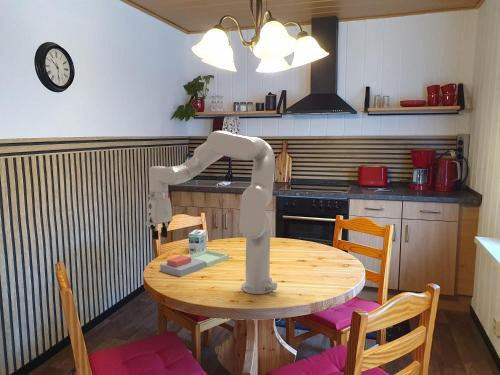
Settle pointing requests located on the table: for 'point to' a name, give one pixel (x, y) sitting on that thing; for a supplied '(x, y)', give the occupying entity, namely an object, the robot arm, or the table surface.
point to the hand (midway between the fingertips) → (159, 237)
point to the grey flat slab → (184, 268)
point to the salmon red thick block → (179, 261)
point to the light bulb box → (197, 241)
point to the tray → (210, 257)
